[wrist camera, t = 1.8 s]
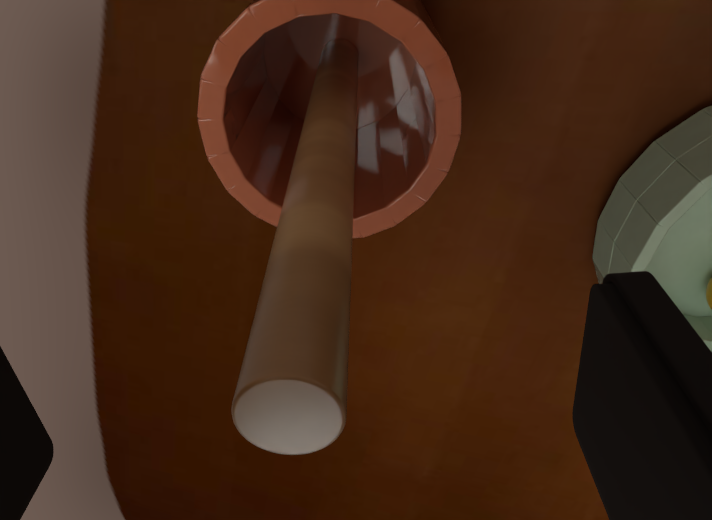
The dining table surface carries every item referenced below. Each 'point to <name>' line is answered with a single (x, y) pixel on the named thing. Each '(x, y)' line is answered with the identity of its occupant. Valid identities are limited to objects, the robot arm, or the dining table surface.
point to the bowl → (666, 219)
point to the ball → (709, 293)
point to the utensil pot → (292, 94)
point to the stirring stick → (307, 281)
